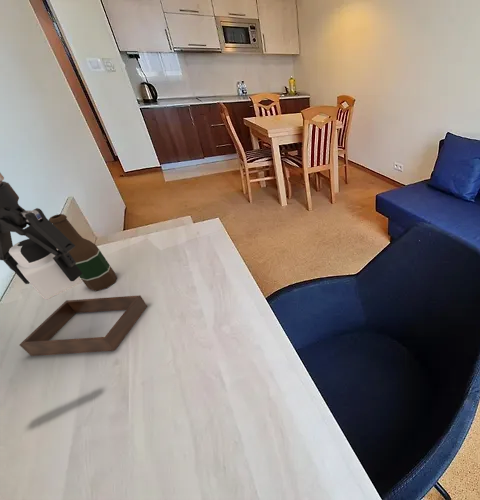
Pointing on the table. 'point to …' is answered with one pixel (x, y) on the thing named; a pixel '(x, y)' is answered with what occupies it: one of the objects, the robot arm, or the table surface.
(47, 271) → the medicine bottle
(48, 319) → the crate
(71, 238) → the beer bottle
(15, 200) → the robot arm
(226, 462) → the table surface
